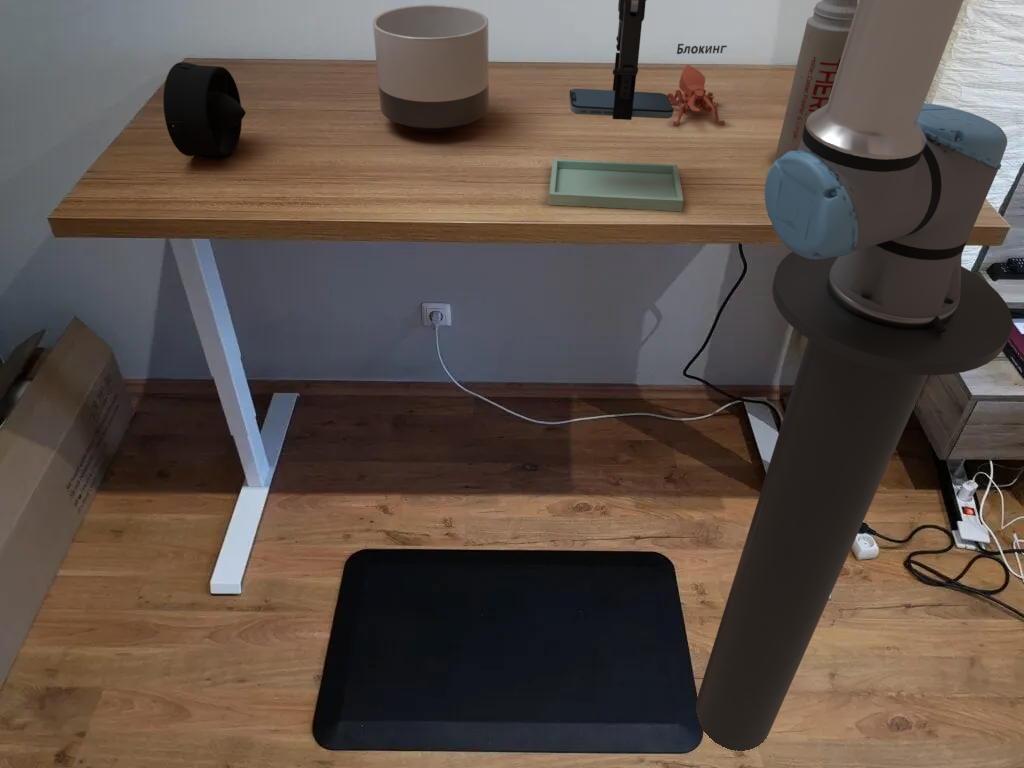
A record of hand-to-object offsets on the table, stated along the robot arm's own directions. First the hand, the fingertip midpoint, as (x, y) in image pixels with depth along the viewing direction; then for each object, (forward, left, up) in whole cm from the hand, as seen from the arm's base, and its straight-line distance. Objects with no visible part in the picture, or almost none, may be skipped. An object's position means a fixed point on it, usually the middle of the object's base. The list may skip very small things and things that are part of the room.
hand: (621, 107), depth 120 cm
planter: (+21, +32, -13) cm, 40 cm away
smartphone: (0, 0, 0) cm, 0 cm away
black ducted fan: (+4, +65, -13) cm, 66 cm away
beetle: (+30, -15, -13) cm, 36 cm away
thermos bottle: (+11, -31, -13) cm, 35 cm away
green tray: (-2, 0, -12) cm, 12 cm away
